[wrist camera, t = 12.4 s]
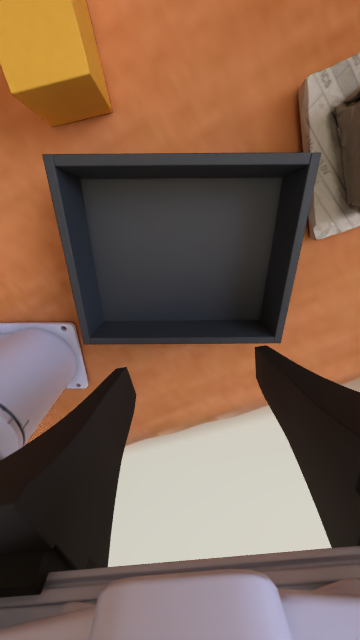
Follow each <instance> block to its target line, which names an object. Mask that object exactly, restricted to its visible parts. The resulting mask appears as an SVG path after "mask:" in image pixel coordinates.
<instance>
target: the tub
mask: <svg viewBox="0 0 360 640" xmlns="http://www.w3.org/2000/svg"><path fill="white" fill-rule="evenodd" d="M320 157H321V152H312V153H310V152H298V153H151V154H53V155H52V154H43V160H44V164H45V169H46V173H47V178H48V183H49V187H50V192H51V196H52V201H53V205H54V210H55V215H56V219H57V224H58V228H59V233H60V237H61V242H62V246H63V251H64V256H65V260H66V265H67V269H68V274H69V278H70V283H71V287H72V292H73V297H74V301H75V306H76V310H77V315H78V319H79V324H80V328H81V333H82V338H83V342H84V344H235V343H281V339H282V334H283V329H284V325H285V320H286V315H287V311H288V306H289V302H290V297H291V292H292V288H293V283H294V278H295V274H296V269H297V264H298V260H299V255H300V250H301V246H302V241H303V236H304V232H305V227H306V222H307V218H308V213H309V208H310V204H311V199H312V195H313V190H314V185H315V181H316V176H317V171H318V167H319V162H320Z"/></svg>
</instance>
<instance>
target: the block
mask: <svg viewBox="0 0 360 640" xmlns="http://www.w3.org/2000/svg"><path fill="white" fill-rule="evenodd" d="M0 65H1V68H2V70H3V73H4V76H5V78H6V81H7V84H8V86H9V89H10V92H11V93H12V95H14V96H15V97H16V98H17V99H19V100H20V101H21V102H22V103H24V104H25V105H26V106H27V107H29V108H30V109H31V110H32V111H34V112H35V113H36V114H37V115H39V116H40V117H41V118H42V119H44V120H45V121H46V122H47V123H49V124H50V125H51V126H53V127H54V126H58V125H62V124H66V123H70V122H74V121H78V120H83V119H87V118H91V117H95V116H99V115H103V114H107V113H111V112H112V108H111V104H110V99H109V95H108V91H107V87H106V82H105V78H104V74H103V70H102V66H101V61H100V57H99V53H98V49H97V45H96V40H95V36H94V32H93V28H92V23H91V19H90V15H89V11H88V7H87V2H86V0H0Z"/></svg>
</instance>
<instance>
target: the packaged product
mask: <svg viewBox="0 0 360 640" xmlns="http://www.w3.org/2000/svg"><path fill="white" fill-rule="evenodd" d="M298 97H299V109H300V121H301V132H302V144H303V152H310V153H312V152H321V157H320V162H319V167H318V171H317V176H316V181H315V185H314V190H313V195H312V199H311V204H310V208H309V213H308V221H309V230H310V238H312V239H314V240H320V239H322V238H325V237H328V236H331V235H334V234H337V233H341V232H344V231H347V230H350V229H353V228H356V227H358V226H360V53H358V54H356V55H354V56H352V57H350V58H348V59H345V60H343V61H340V62H338V63H337V64H335V65H333V66H331V67H328V68H326V69H324V70H322V71H319V72H316V73H313V74H311V75H309V76H308V77H306V79H305V81H304V82H303V84H302V86H301V88H300V90H299V92H298Z"/></svg>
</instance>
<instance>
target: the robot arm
mask: <svg viewBox="0 0 360 640" xmlns="http://www.w3.org/2000/svg"><path fill="white" fill-rule="evenodd" d="M63 326H65V327H66V329H64V328H63ZM255 362H256V378H257V381H258V383H259V386H260V388H261V391H262V393H263V395H264V397H265V399H266V401H267V402H268V404H269V406H270V408H271V410H272V412H273V413H274V415H275V416H276V419H277V420H278V422H279V424H280V426H281V428H282V429H283V431H284V433H285V435H286V437H287V439H288V441H289V443H290V446H291V448H292V450H293V453H294V455H295V457H296V459H297V462H298V464H299V466H300V469H301V471H302V474H303V476H304V478H305V481H306V483H307V485H308V488H309V490H310V493H311V495H312V498H313V500H314V503H315V505H316V508H317V510H318V513H319V516H320V518H321V521H322V523H323V526H324V529H325V531H326V534H327V537H328V539H329V542H330V544H331V547H332V548H328V549H316V550H305V551H293V552H281V553H270V554H259V555H246V556H235V557H223V558H211V559H199V560H188V561H177V562H164V563H153V564H141V565H129V566H118V567H108V558H109V548H110V537H111V529H112V521H113V512H114V505H115V498H116V491H117V484H118V478H119V471H120V466H121V460H122V456H123V452H124V448H125V444H126V440H127V437H128V433H129V429H130V425H131V422H132V418H133V414H134V408H135V401H136V393H135V390H134V387H133V384H132V381H131V378H130V375H129V372H128V369H127V367H124V368H117V369H115V370H114V371H113V372H112V373H111V374H110V375H109V376H108V377H107V378H106V379H105V380H104V381H103V382H102V383H101V384H100V385H99V386H98V387H97V388H96V389H95V390H94V391H93V392H92V393H91V394H90V395H89V396H88V397H87V398H86V399H85V400H84V401H82V402H81V403H80V404H79V405H78V406H77V407H76V408H75V409H74V410H73V411H71V412H70V413H69V414H68V415H67V416H65V417H64V418H63V419H62V420H60V421H59V422H58V423H56V424H55V425H54V426H52V427H51V428H50V429H48V430H47V431H45V432H44V433H43V434H41V435H40V436H38V437H37V438H35V439H34V440H33V441H31V442H30V443H28V444H26V443H27V441H28V440H29V439H30V437H31V436H32V434H33V433H34V432H35V430H36V429H37V427H38V426H39V425H40V423H41V422H42V420H43V419H44V417H45V416H46V415H47V413H48V412H49V410H50V409H51V408H52V406H53V405H54V403H55V402H56V401H57V399H58V398H59V396H60V395H61V394H62V392H63V391H64V389H79V388H87V386H88V379H87V374H86V370H85V366H84V361H83V357H82V353H81V348H80V344H79V340H78V335H77V331H76V327H75V325H74V324H73V323H71V322H32V323H0V640H360V392H357V391H354V390H352V389H349V388H347V387H344V386H342V385H339V384H337V383H335V382H332V381H330V380H328V379H325V378H323V377H321V376H319V375H317V374H315V373H313V372H311V371H309V370H307V369H305V368H303V367H302V366H300V365H298V364H296V363H295V362H293V361H291V360H289V359H288V358H286V357H284V356H283V355H281V354H280V353H278V352H276V351H275V350H273V349H272V348H270V347H268V346H259V347H255ZM79 384H80V385H79ZM25 444H26V445H25Z"/></svg>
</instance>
